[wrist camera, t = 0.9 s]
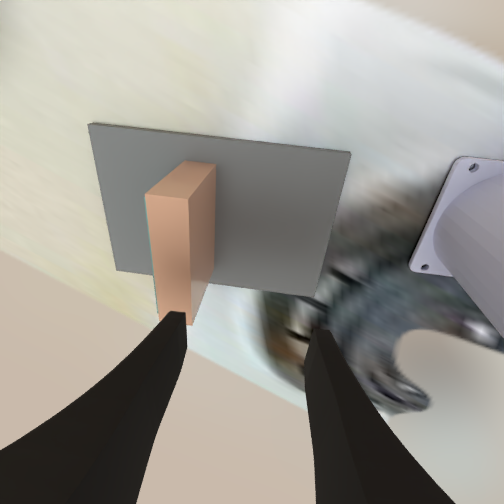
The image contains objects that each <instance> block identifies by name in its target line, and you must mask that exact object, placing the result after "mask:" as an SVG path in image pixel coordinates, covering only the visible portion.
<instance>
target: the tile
mask: <svg viewBox="0 0 504 504" xmlns="http://www.w3.org/2000/svg"><path fill="white" fill-rule="evenodd" d="M215 198H216V164H211V163H203V162H194V161H186V160H185V161H184V162H182V163H181V164H180V165H179V166H178V167H176V168H175V169H174V170H173V171H172V172H170V173H169V174H168V175H167V176H166V177H164V178H163V179H162V180H161V181H160V182H158V183H157V184H156V185H155V186H154V187H152V188H151V189H150V190H149V191H148V192H146V193H145V197H144V202H145V210H146V219H147V227H148V236H149V244H150V253H151V261H152V270H153V278H154V287H155V295H156V304H157V313H159V321H161V320H162V319H163V318H164V317H165V316H166V314H167V313H168V312H169V311H178V312H186V325H191V326H192V325H193V322H194V320H195V317H196V314H197V312H198V309H199V306H200V304H201V301H202V299H203V296H204V293H205V291H206V288H207V286H208V283H209V280H210V278H211V275H212V272H213V270H214V246H215Z"/></svg>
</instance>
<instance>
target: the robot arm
mask: <svg viewBox="0 0 504 504" xmlns="http://www.w3.org/2000/svg"><path fill="white" fill-rule="evenodd" d="M474 163H475V167H474V169H472V170H469V167H470V166H471V165H472V164H474ZM424 264H427V265H426V266H425V267H422V265H424ZM409 268H410V269H411V270H412V271H414V272H420V273H427V274H435V275H443V276H450V277H454V278H455V279H456V280H457V282H458V283H459V284H460V285H461V286H462V288H463V289H464V290H465V291H466V293H467V294H468V295H469V296H470V297H471V299H472V300H473V301H474V302H475V304H476V305H477V306H478V307H479V308H480V310H481V311H482V312H483V313H484V315H485V316H486V317H487V318H488V320H489V321H490V322H491V323H492V324H493V326H494V327H495V328H496V329H497V331H498V332H499V333H500V334H501V335H502V337H503V338H504V161H501V160H492V159H483V158H474V157H461V158H459V159H457V160H456V161H455V163H454V164H453V166H452V168H451V171H450V173H449V175H448V177H447V179H446V182H445V184H444V186H443V188H442V190H441V193H440V195H439V197H438V199H437V202H436V204H435V206H434V208H433V210H432V213H431V215H430V217H429V219H428V222H427V224H426V226H425V228H424V230H423V233H422V235H421V237H420V239H419V241H418V244H417V246H416V248H415V250H414V253H413V255H412V257H411V259H410V261H409ZM186 350H187V330H186V312H178V311H169V312H168V313H167V314H166V316H165V317H164V318H163V319H162V320H161V321H160V322H159V324H158V325H157V326H156V327H155V328H154V329H153V330H152V331H151V332H150V333H149V335H148V336H147V337H146V338H145V339H144V340H143V341H142V342H141V343H140V344H139V345H138V346H137V347H136V348H135V349H134V350H133V351H132V352H131V353H130V354H129V355H128V356H127V357H126V358H125V359H124V360H123V361H121V362H120V363H119V364H118V365H117V366H116V367H115V368H114V369H113V370H112V371H111V372H110V373H109V374H107V375H106V376H105V377H104V378H103V379H101V380H100V381H99V382H98V383H97V384H95V385H94V386H93V387H92V388H90V389H89V390H88V391H87V392H85V393H84V394H83V395H82V396H81V397H79V398H78V399H76V400H75V401H74V402H72V403H71V404H70V405H68V406H67V407H66V408H64V409H63V410H61V411H60V412H59V413H57V414H56V415H54V416H53V417H52V418H50V419H49V420H47V421H45V422H44V423H42V424H41V425H39V426H38V427H37V428H35V429H33V430H32V431H30V432H29V433H27V434H26V435H24V436H23V437H21V438H20V439H18V440H17V441H15V442H13V443H12V444H10V445H8V446H7V447H5V448H3V449H2V450H0V504H136V502H137V498H138V495H139V491H140V488H141V484H142V481H143V477H144V474H145V470H146V467H147V463H148V460H149V456H150V453H151V450H152V446H153V443H154V440H155V437H156V434H157V431H158V428H159V426H160V423H161V421H162V418H163V416H164V413H165V411H166V408H167V405H168V403H169V400H170V398H171V395H172V392H173V390H174V388H175V385H176V382H177V380H178V377H179V374H180V372H181V369H182V365H183V361H184V358H185V354H186ZM304 370H305V392H306V400H307V408H308V415H309V423H310V430H311V438H312V445H313V455H314V467H315V490H316V504H455V503H454V502H453V501H452V500H451V498H450V497H449V496H448V495H447V494H446V493H445V492H444V491H443V490H442V489H441V488H440V487H439V486H438V485H437V484H436V482H435V481H434V480H433V479H432V478H431V477H430V476H429V475H428V473H427V472H426V471H425V470H424V469H423V468H422V466H421V465H420V464H419V463H418V462H417V461H416V460H415V459H414V457H413V456H412V455H411V454H410V453H409V451H408V450H407V449H406V448H405V447H404V445H402V443H401V442H400V440H399V439H398V438H397V437H396V435H395V434H394V433H393V431H392V430H391V429H390V427H389V426H388V425H387V423H386V422H385V421H384V419H383V418H382V417H381V415H380V414H379V413H378V411H377V410H376V408H375V407H374V405H373V404H372V402H371V401H370V399H369V398H368V396H367V395H366V393H365V392H364V390H363V389H362V387H361V386H360V384H359V382H358V381H357V379H356V377H355V376H354V374H353V372H352V371H351V369H350V367H349V365H348V364H347V362H346V360H345V358H344V357H343V355H342V353H341V351H340V349H339V347H338V345H337V343H336V341H335V339H334V337H333V335H332V333H331V332H330V331H329V330H324V329H316V328H314V329H313V333H312V336H311V340H310V343H309V347H308V351H307V354H306V358H305V361H304Z"/></svg>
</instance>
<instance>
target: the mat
mask: <svg viewBox="0 0 504 504" xmlns="http://www.w3.org/2000/svg"><path fill="white" fill-rule="evenodd" d="M87 125H88V130H89V135H90V140H91V145H92V150H93V155H94V160H95V165H96V170H97V175H98V180H99V185H100V190H101V195H102V200H103V205H104V210H105V215H106V220H107V225H108V230H109V236H110V241H111V246H112V251H113V256H114V261H115V266H116V271H124V272H131V273H138V274H146V275H153V270H152V261H151V253H150V244H149V236H148V227H147V219H146V210H145V202H144V197H145V193H146V192H148V191H149V190H150V189H151V188H152V187H154V186H155V185H156V184H157V183H158V182H160V181H161V180H162V179H163V178H164V177H166V176H167V175H168V174H169V173H170V172H172V171H173V170H174V169H175V168H176V167H178V166H179V165H180V164H181V163H182V162H184V161H185V160H186V161H194V162H203V163H211V164H216V198H215V246H214V270H213V272H212V275H211V278H210V280H209V283H212V284H219V285H227V286H234V287H241V288H249V289H256V290H264V291H271V292H278V293H286V294H293V295H300V296H308V297H314V295H315V292H316V288H317V284H318V280H319V276H320V272H321V269H322V265H323V261H324V257H325V253H326V250H327V246H328V242H329V238H330V234H331V230H332V227H333V223H334V219H335V215H336V211H337V207H338V204H339V200H340V196H341V192H342V188H343V184H344V181H345V177H346V173H347V169H348V165H349V161H350V158H351V153H350V152H347V151H338V150H329V149H321V148H312V147H303V146H294V145H285V144H276V143H267V142H258V141H250V140H241V139H232V138H223V137H214V136H205V135H196V134H188V133H179V132H170V131H161V130H152V129H143V128H134V127H126V126H117V125H108V124H99V123H90V124H87Z"/></svg>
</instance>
